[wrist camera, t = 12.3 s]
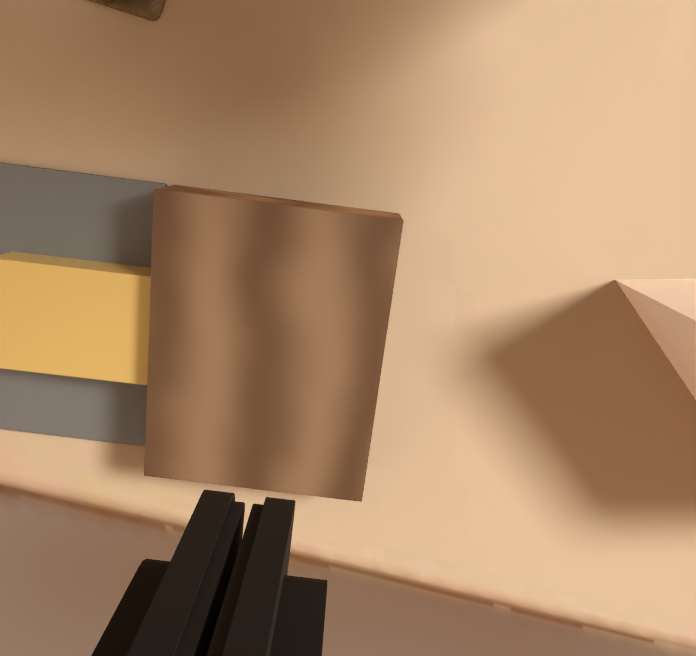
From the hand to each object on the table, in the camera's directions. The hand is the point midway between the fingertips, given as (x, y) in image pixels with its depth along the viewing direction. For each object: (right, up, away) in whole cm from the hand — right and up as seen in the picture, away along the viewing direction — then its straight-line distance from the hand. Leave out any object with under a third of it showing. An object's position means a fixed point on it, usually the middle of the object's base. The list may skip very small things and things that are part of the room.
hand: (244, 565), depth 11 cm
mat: (-16, +5, +29) cm, 34 cm away
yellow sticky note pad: (-15, +5, +29) cm, 33 cm away
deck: (-3, +4, +29) cm, 30 cm away
